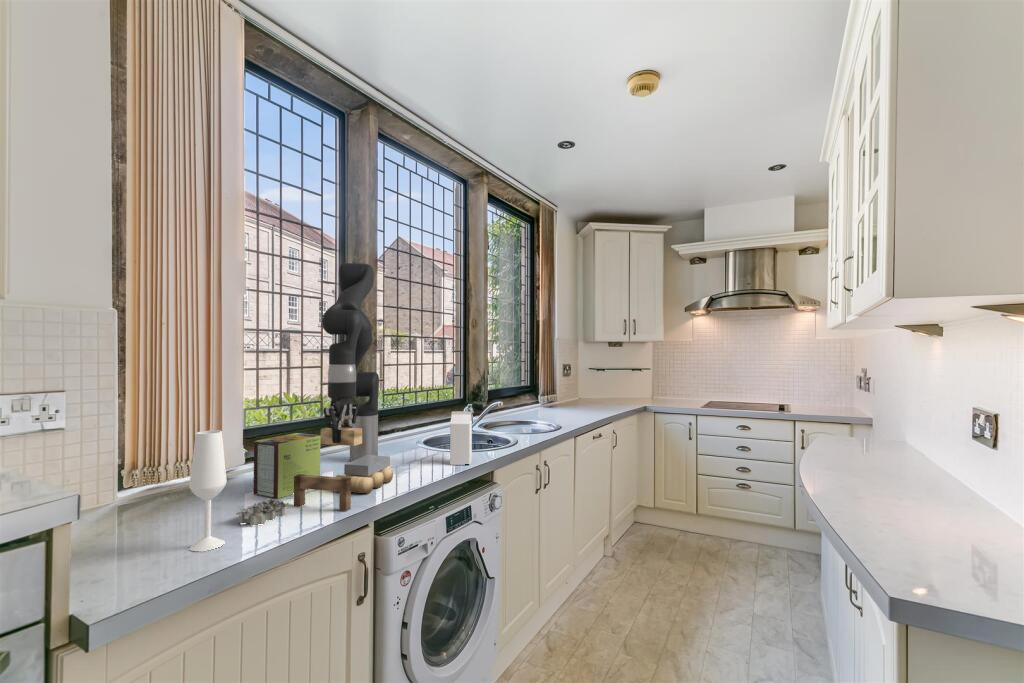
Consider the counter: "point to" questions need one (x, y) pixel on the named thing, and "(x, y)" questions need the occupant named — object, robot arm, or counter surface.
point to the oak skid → (342, 436)
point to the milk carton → (460, 438)
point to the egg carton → (261, 511)
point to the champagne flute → (208, 480)
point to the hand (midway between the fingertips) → (341, 441)
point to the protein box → (284, 462)
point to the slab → (367, 465)
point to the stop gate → (323, 488)
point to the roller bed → (369, 480)
